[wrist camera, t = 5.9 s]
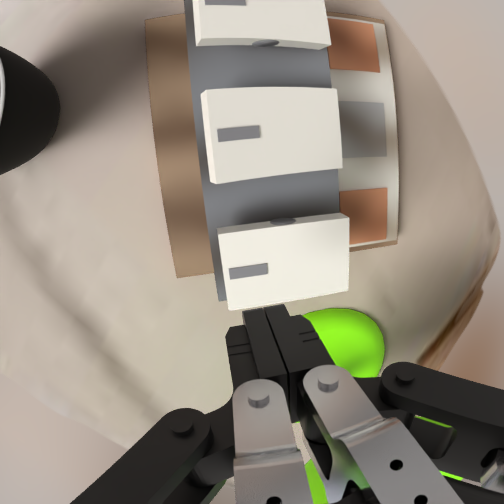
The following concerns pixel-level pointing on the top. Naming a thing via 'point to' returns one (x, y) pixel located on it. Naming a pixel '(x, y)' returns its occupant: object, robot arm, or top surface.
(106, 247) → the top surface
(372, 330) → the wineglass
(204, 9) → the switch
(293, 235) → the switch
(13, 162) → the mug
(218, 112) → the switch middle
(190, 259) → the switch unit
